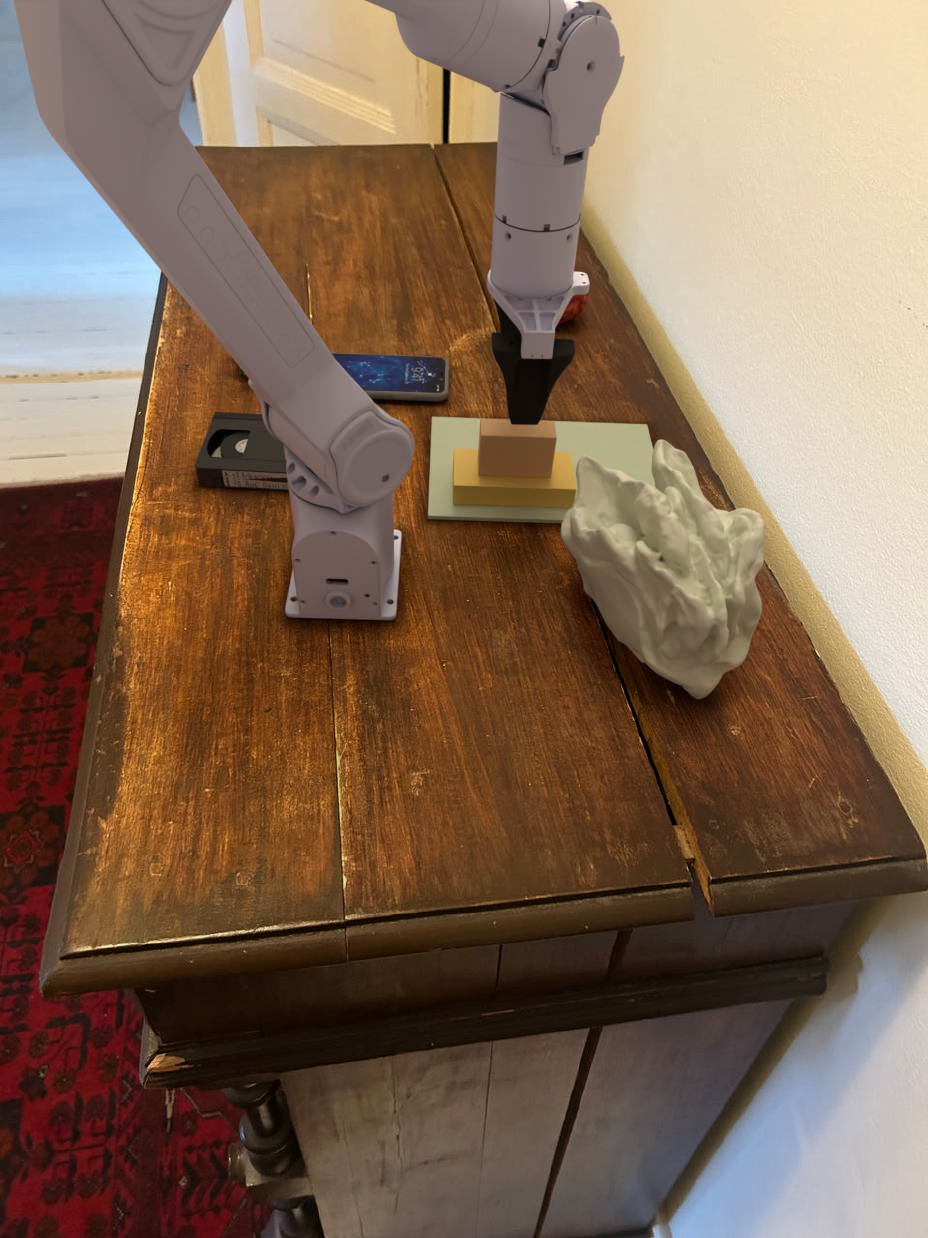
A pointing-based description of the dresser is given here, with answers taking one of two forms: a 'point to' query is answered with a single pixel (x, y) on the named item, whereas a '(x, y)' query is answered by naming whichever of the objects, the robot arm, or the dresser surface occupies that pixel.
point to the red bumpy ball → (574, 307)
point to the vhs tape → (241, 454)
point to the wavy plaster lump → (668, 567)
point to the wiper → (514, 467)
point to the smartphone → (398, 376)
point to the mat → (598, 440)
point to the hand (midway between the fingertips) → (521, 392)
